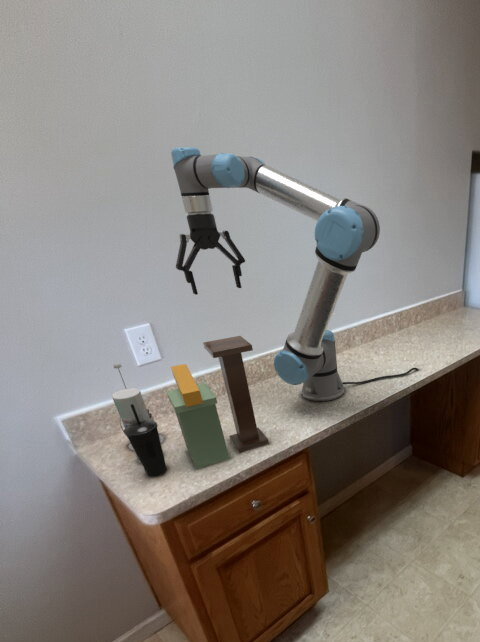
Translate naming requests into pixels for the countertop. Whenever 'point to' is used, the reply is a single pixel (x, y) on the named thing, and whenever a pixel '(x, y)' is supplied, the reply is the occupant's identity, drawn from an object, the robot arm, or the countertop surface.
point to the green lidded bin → (200, 427)
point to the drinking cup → (147, 445)
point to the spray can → (124, 409)
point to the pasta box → (186, 385)
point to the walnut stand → (237, 391)
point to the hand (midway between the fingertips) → (217, 290)
